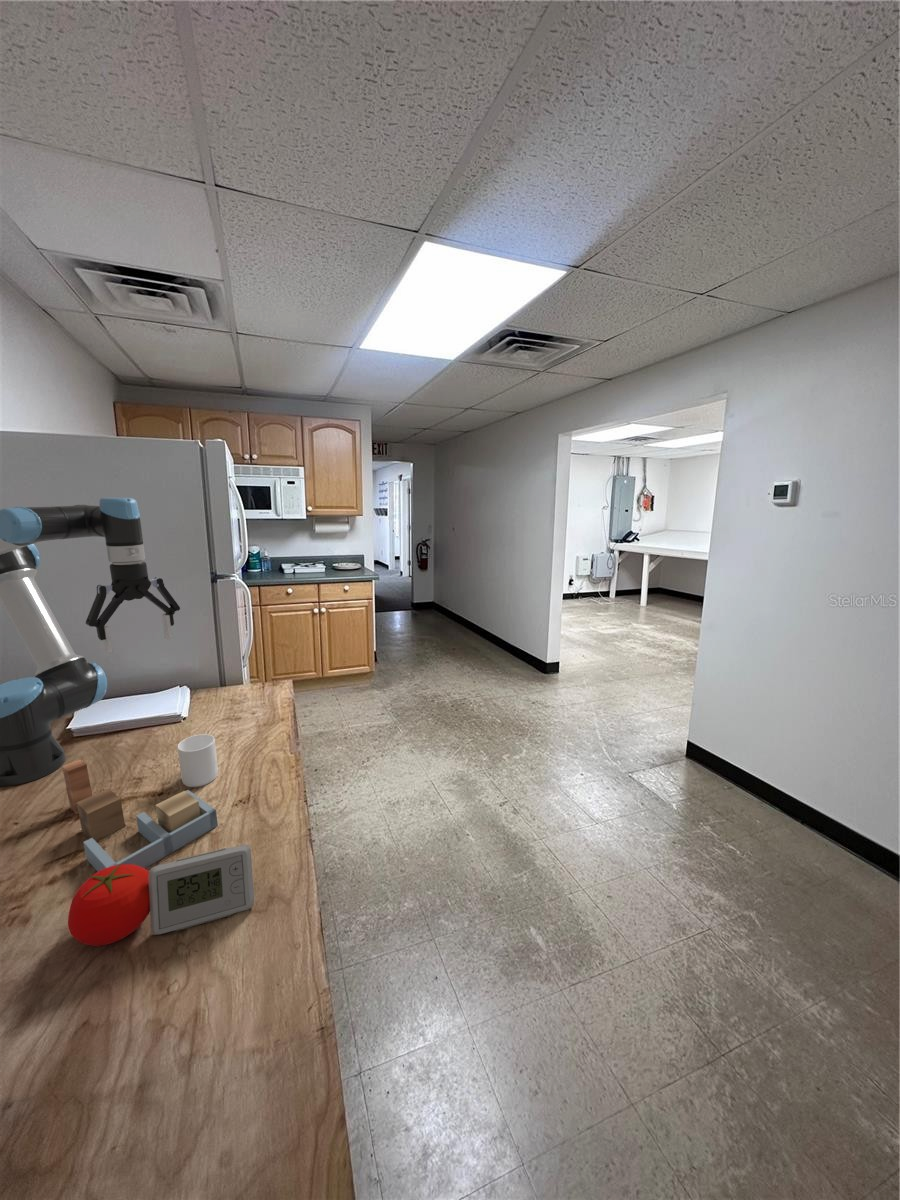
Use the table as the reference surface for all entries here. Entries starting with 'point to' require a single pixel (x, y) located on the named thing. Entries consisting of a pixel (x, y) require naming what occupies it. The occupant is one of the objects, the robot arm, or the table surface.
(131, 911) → the tomato
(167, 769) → the table surface
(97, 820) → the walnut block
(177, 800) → the oak block
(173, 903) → the digital clock
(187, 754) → the cup
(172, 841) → the lane shelf
